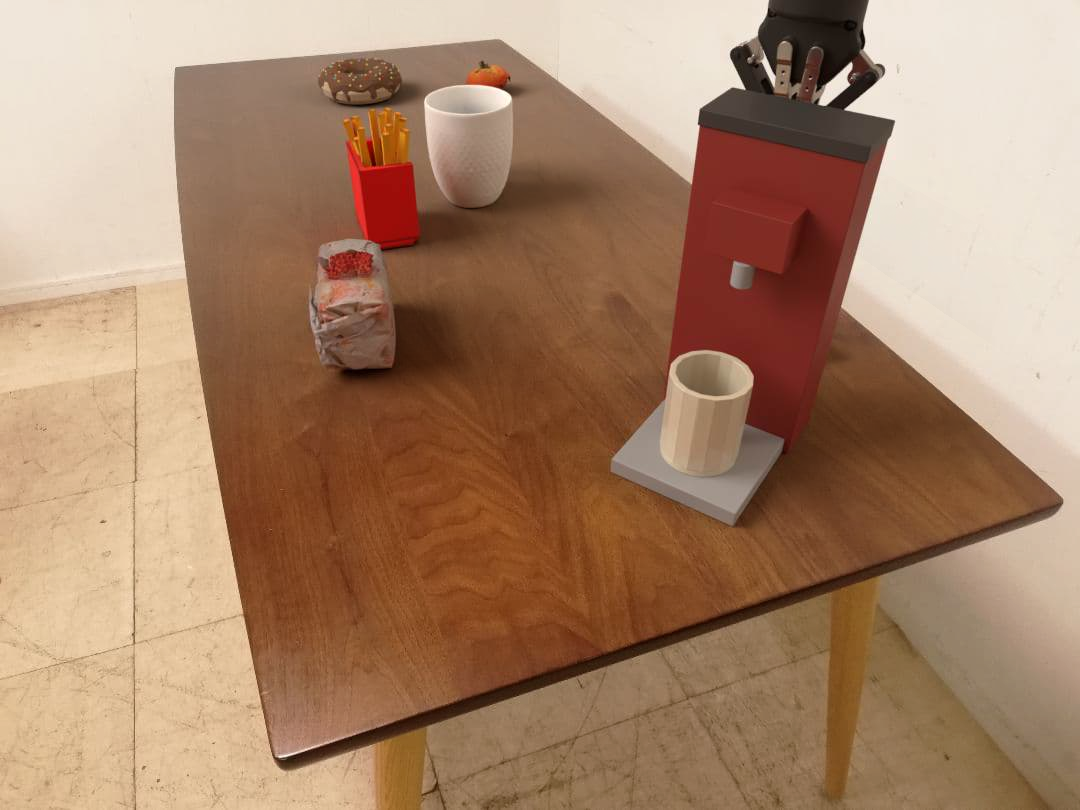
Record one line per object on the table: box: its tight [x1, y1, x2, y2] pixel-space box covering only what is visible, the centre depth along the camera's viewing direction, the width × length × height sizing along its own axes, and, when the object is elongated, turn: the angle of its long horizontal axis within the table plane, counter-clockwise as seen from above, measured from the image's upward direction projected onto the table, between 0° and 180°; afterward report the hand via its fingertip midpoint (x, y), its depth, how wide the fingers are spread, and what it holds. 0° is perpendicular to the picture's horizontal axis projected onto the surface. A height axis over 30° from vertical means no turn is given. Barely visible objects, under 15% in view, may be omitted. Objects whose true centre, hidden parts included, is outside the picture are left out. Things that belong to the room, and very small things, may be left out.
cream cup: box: [660, 350, 754, 477], centre depth 66 cm, size 6×6×8 cm
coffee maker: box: [610, 86, 896, 527], centre depth 63 cm, size 16×12×27 cm
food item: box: [308, 238, 397, 371], centre depth 80 cm, size 14×8×10 cm, turn 13°
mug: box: [423, 84, 514, 209], centre depth 107 cm, size 15×11×13 cm
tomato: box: [464, 59, 512, 90], centre depth 141 cm, size 8×7×7 cm
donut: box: [317, 57, 403, 105], centre depth 139 cm, size 14×14×5 cm
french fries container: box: [341, 107, 420, 251], centre depth 97 cm, size 7×9×14 cm
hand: (784, 165), depth 73 cm, fingers closed
